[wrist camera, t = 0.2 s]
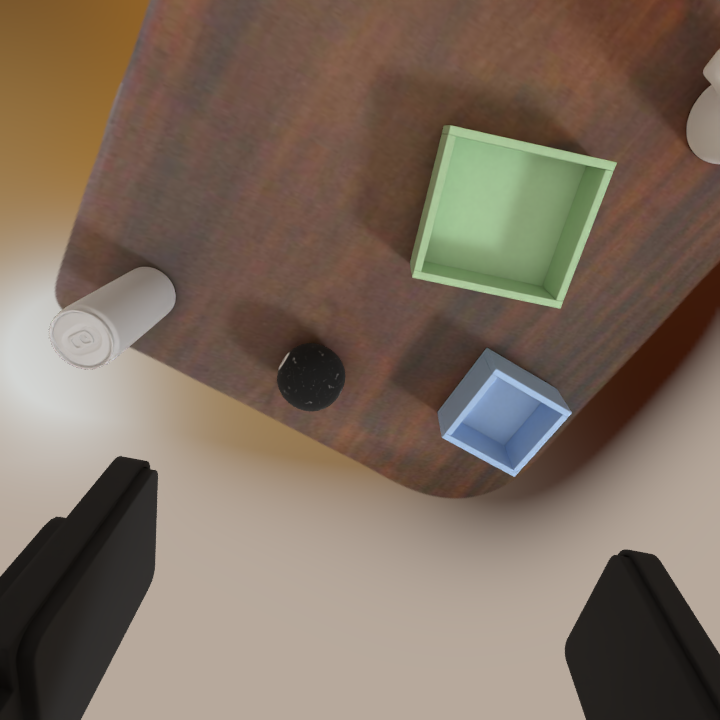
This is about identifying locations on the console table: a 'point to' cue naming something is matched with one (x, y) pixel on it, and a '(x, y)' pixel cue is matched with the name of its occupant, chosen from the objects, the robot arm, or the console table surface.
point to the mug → (707, 116)
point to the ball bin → (507, 216)
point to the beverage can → (111, 318)
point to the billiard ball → (311, 377)
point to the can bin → (501, 413)
